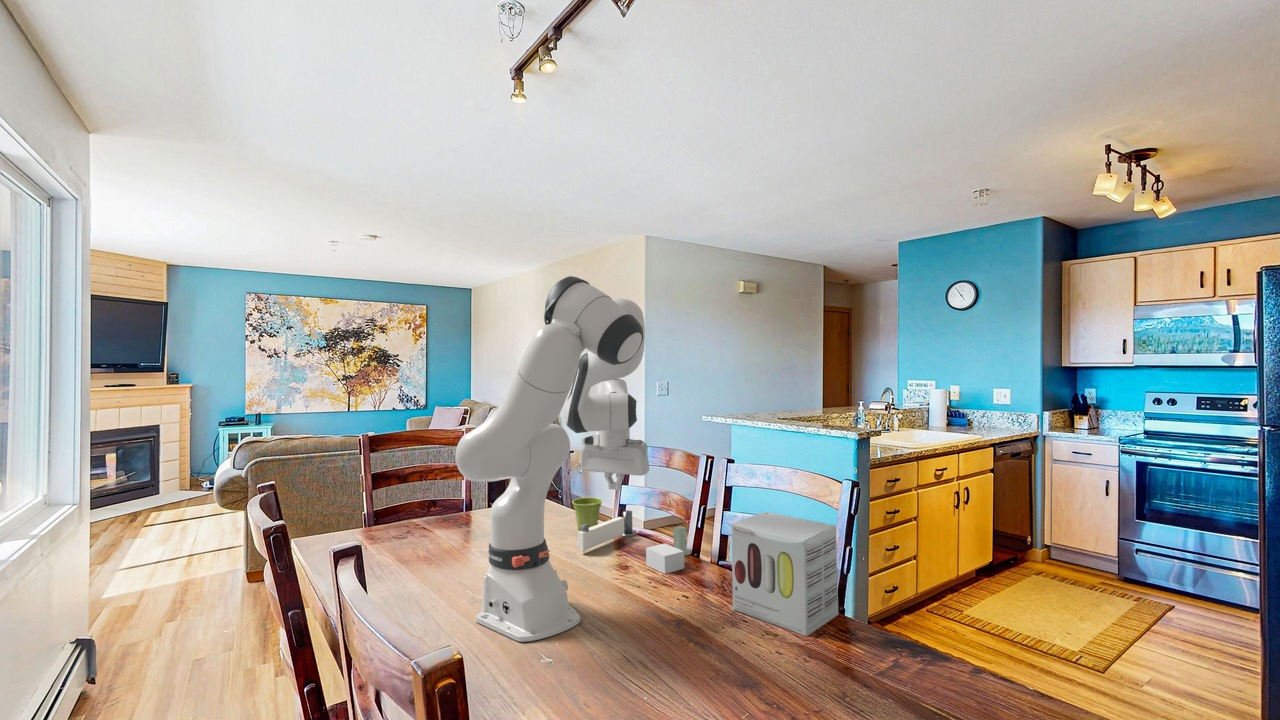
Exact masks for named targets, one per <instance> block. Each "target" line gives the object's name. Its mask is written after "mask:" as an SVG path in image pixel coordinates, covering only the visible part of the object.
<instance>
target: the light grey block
mask: <svg viewBox="0 0 1280 720" xmlns="http://www.w3.org/2000/svg"><path fill="white" fill-rule="evenodd" d="M645 564H646V566H648V567H650V568H653V569H654V570H656V571H659V572H660V573H662V574H665V575H666V574H669V573H670V574H671V573H674V572H678V571H680V570H684V569H685V556H684V551H682V550H680V549H677V548H675V547H674V545H673V546H672V545H670V544H668V543H661V544H656V545H652V546H648V547H645Z"/></svg>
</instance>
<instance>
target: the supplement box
mask: <svg viewBox="0 0 1280 720" xmlns="http://www.w3.org/2000/svg"><path fill="white" fill-rule="evenodd" d="M837 548H838V547H837V526H836V525H835V524H831V523H830V524H829V523H826V522H825V523H824V522H819V521H814V520H811V519H810V520H809V519H804V518H801V517H800V518H799V517H794V516H789V515H784V514H779V513H775V512H774V513H773V512H768V511H764V512H761V513H757V514H754V515H751V516H748V517H746V518H742V519H741V520H738V521H735V522H733V523H731V569H732V573H731V575H732V576H731V577H732V579H731V580H732V582H731V583H732V610H733V611H737V612H740V613H743V614H745V615H748V616H750V617H753V618H755V619H757V620H761V621H764V622H767V623H770V624H772V625H775V626H778V627H780V628H783V629H784V630H785V629H786V630H788V631H792V632H794V633H797V634H799V635H801V636H805V637H808V636H809V635H811V634H812V633H814V632H815V631H816V630H818V629H820V628H821V627H823V626H824V625H826V624H827V623H829V622H831V620H833V619H834V618H836V617H838V615H839V596H838V595H839V593H838V591H839V589H838V554H837V553H838V552H837V551H838V549H837Z"/></svg>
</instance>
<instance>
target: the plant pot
mask: <svg viewBox="0 0 1280 720" xmlns="http://www.w3.org/2000/svg"><path fill="white" fill-rule="evenodd" d="M602 503H603V500H602V499H601V498H598V497H581V498H576V499H575V498H574V499H573V500H572V501H571V504H573V508H574V511H575V519H576V526H577V530H579V531H581V525H582V524H588V525H589V528H590V527H593V526H595V525H598V524H599V518H600V515H599V514H600V508H601V504H602ZM597 521H598V522H597Z"/></svg>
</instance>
